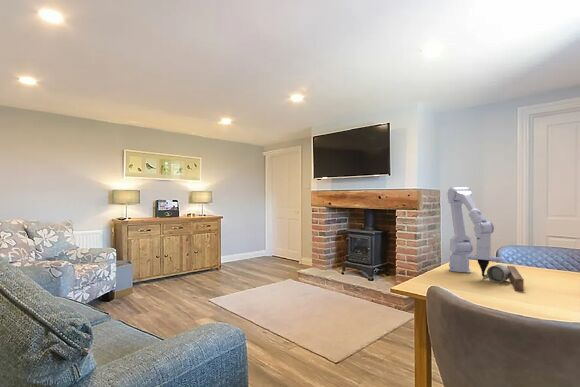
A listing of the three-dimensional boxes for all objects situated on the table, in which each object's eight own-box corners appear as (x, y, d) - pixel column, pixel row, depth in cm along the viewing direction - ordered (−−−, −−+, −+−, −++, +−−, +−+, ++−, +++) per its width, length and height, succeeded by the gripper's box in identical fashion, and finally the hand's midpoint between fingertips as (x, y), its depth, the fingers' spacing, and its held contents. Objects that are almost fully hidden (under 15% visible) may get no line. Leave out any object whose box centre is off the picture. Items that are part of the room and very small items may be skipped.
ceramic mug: (511, 281, 150) (511, 264, 150) (505, 284, 145) (504, 267, 145) (486, 276, 159) (486, 261, 159) (479, 279, 154) (479, 263, 154)
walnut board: (514, 290, 137) (514, 278, 137) (507, 275, 160) (507, 265, 160) (523, 291, 135) (523, 279, 135) (514, 276, 158) (514, 266, 158)
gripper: (466, 247, 153) (465, 276, 153) (502, 250, 146) (502, 280, 146) (466, 245, 159) (465, 272, 159) (501, 247, 152) (500, 276, 152)
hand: (483, 275), depth 153 cm, fingers closed, pressing on ceramic mug
